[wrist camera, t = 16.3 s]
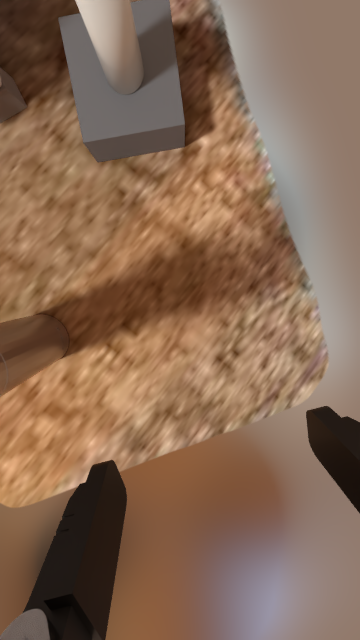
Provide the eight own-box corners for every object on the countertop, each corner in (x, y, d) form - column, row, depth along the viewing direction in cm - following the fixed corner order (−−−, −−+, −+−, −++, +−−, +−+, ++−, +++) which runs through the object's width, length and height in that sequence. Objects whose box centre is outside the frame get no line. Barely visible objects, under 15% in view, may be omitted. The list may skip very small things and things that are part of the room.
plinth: (97, 162, 34) (83, 142, 30) (77, 57, 32) (58, 17, 27) (184, 146, 34) (184, 124, 29) (170, 39, 31) (168, -6, 26)
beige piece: (111, 99, 28) (70, 0, 19) (101, 55, 28) (53, -72, 18) (147, 89, 28) (126, -17, 18) (139, 44, 27) (111, -91, 18)
